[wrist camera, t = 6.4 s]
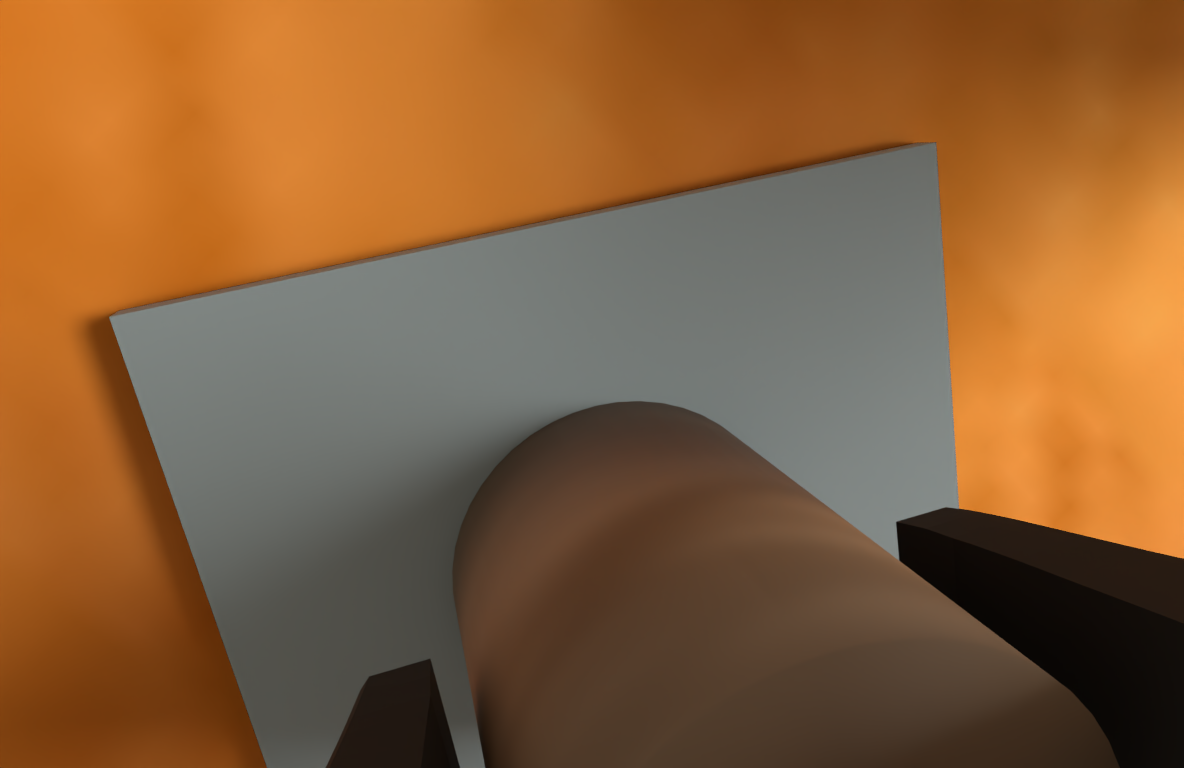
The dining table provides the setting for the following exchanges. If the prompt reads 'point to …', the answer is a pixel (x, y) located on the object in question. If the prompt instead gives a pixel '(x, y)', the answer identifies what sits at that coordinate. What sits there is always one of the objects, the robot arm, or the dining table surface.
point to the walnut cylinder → (721, 620)
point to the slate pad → (529, 403)
